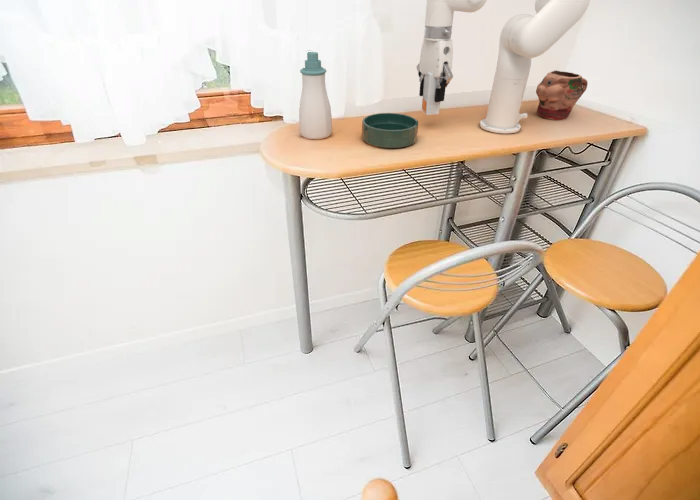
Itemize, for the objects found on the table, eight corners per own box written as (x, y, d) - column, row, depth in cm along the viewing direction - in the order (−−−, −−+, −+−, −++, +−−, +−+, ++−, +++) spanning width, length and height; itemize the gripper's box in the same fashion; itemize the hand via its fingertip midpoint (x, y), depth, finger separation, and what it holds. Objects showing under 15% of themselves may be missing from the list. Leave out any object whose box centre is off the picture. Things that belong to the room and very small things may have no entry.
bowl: (397, 127, 128) (398, 110, 125) (427, 144, 116) (429, 125, 113) (352, 135, 122) (352, 117, 119) (379, 153, 110) (380, 134, 107)
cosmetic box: (421, 109, 127) (424, 69, 120) (434, 108, 127) (438, 68, 120) (425, 115, 122) (429, 73, 115) (439, 114, 122) (443, 73, 115)
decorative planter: (561, 107, 147) (574, 67, 139) (589, 117, 138) (605, 74, 130) (520, 113, 141) (531, 71, 133) (546, 124, 132) (560, 79, 124)
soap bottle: (326, 128, 127) (324, 49, 114) (336, 138, 120) (335, 55, 107) (296, 131, 124) (290, 51, 111) (304, 142, 117) (299, 57, 104)
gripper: (468, 35, 107) (459, 103, 117) (429, 28, 120) (424, 90, 130) (446, 38, 104) (439, 107, 115) (409, 30, 117) (405, 93, 127)
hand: (431, 97), depth 122 cm, fingers closed on cosmetic box, 7 cm apart
